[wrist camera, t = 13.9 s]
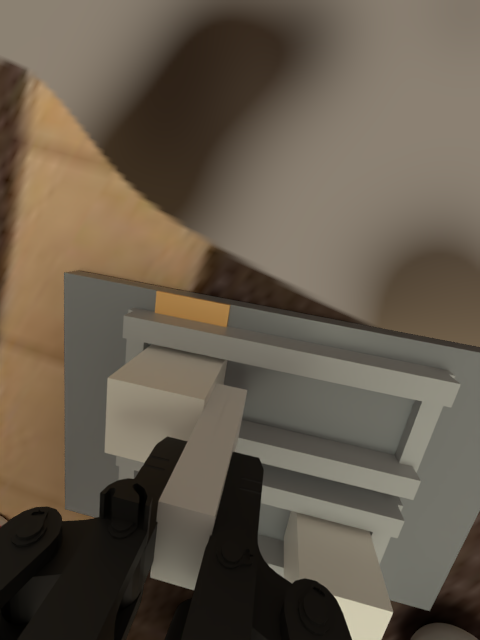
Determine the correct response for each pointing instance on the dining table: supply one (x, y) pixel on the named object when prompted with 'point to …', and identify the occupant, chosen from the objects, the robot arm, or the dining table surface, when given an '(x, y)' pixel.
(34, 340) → the dining table surface
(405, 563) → the switch board
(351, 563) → the tab
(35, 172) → the dining table surface
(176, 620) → the cup
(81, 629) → the robot arm
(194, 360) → the tab
